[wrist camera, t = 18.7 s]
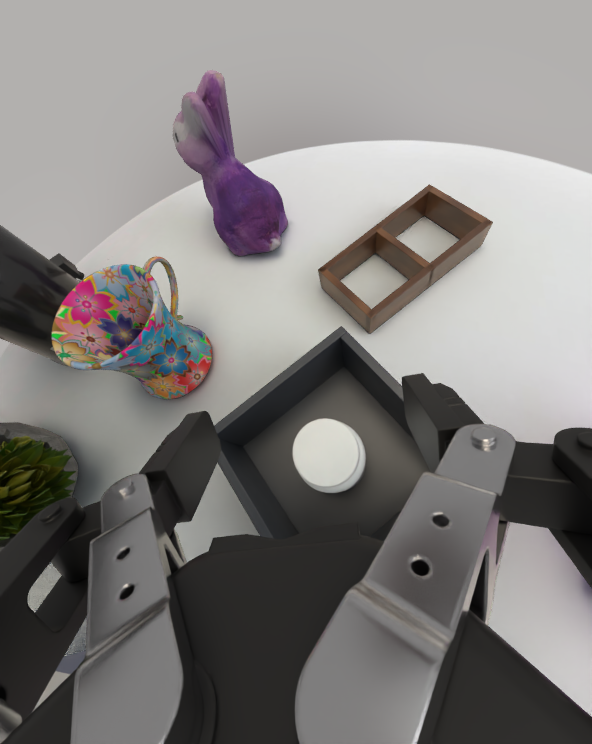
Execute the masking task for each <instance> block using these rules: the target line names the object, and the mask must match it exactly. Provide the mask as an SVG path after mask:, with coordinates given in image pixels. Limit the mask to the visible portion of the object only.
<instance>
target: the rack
mask: <svg viewBox="0 0 592 744" xmlns="http://www.w3.org/2000/svg"><path fill="white" fill-rule="evenodd" d="M422 216H426V217H427V218H429V219H430V220H432V221H433V222H435V223H436V224H438V225H439V226H441V227H442V228H444V229H446V230H447V231H449V232H450V233H452V234H453V235H455V236H456V237H458V238H459V239H460V240H459V241H458V242H457V243H455V244H454V245H453V246H452V247H450V248H449V249H448V250H446V251H445V252H444V253H443V254H441V255H440V256H439V257H438V258H436V259H435V260H434V261H432V262H431V263H429V262H427V261H426V260H425V259H423V258H422V257H421V256H419V255H418V254H416V253H415V252H414V251H412V250H411V249H410V248H408V247H407V246H405V245H404V244H403V243H401V242H400V241H399V240H397V239H396V238H395V237H397V236H398V235H399V234H400V233H402V232H403V231H404V230H406V229H407V228H408V227H410V226H411V225H412V224H413V223H415V222H416V221H417V220H419V219H420V218H421V217H422ZM492 223H493V222H492V221H490V220H489V219H487V218H485V217H484V216H482V215H480V214H479V213H477V212H475V211H473V210H472V209H470V208H468V207H467V206H465V205H463V204H462V203H460V202H458V201H457V200H455V199H453V198H452V197H450V196H448V195H446V194H445V193H443V192H441V191H440V190H438V189H436V188H435V187H433V186H431V185H428V186H427V187H425V188H424V189H423V190H422V191H420V192H419V193H418V194H416V195H415V196H414V197H413V198H411V199H410V200H409V201H407V202H406V203H405V204H403V205H402V206H401V207H399V208H398V209H397V210H396V211H394V212H393V213H392V214H390V215H389V216H388V217H386V218H385V219H384V220H382V221H381V222H380V223H379V224H377V225H376V226H375V227H373V228H372V229H371V230H369V231H368V232H367V233H365V234H364V235H363V236H362V237H360V238H359V239H358V240H356V241H355V242H354V243H352V244H351V245H350V246H348V247H347V248H346V249H345V250H343V251H342V252H341V253H339V254H338V255H337V256H335V257H334V258H333V259H332V260H330V261H329V262H328V263H326V264H325V265H324V266H322V267H321V268H320V269H318V272H319V277H320V282H321V287H322V289H323V290H324V291H325V292H327V293H328V294H329V295H330V296H331V297H332V298H333V299H334V300H335V301H336V302H337V303H338V304H339V305H340V306H341V307H342V308H343V309H344V310H345V311H346V312H347V313H349V314H350V315H351V316H352V317H353V318H354V319H355V320H356V321H357V322H358V323H359V324H360V325H361V326H362V327H363V328H364V329H365V330H366V331H367V332H368V333H369V334H371V333H372V332H373V331H374V330H375V329H377V328H378V327H379V326H381V325H382V324H383V323H384V322H386V321H387V320H388V319H389V318H391V317H392V316H393V315H394V314H396V313H397V312H398V311H399V310H401V309H402V308H403V307H404V306H406V305H407V304H408V303H410V302H411V301H412V300H413V299H415V298H416V297H417V296H418V295H420V294H421V293H422V292H423V291H425V290H426V289H427V288H428V287H430V286H431V285H432V284H434V283H435V282H436V281H437V280H439V279H440V278H441V277H442V276H444V275H445V274H446V273H447V272H449V271H450V270H451V269H452V268H454V267H455V266H456V265H457V264H459V263H460V262H461V261H463V260H464V259H465V258H466V257H468V256H469V255H470V254H471V253H473V252H474V251H475V250H476V249H478V248H479V247H480V246H481V245H482V243H483V241H484V239H485V237H486V235H487V233H488V231H489V229H490V227H491V225H492ZM375 253H376V254H378V255H379V256H380V257H381V258H383V259H384V260H385V261H386V262H388V263H389V264H390V265H391V266H393V267H394V268H395V269H397V270H398V271H399V272H400V273H402V274H403V275H404V276H405V277H407V278H408V279H409V280H408V281H407V282H406V283H404V284H403V285H402V286H401V287H399V288H398V289H397V290H396V291H394V292H393V293H392V294H390V295H389V296H388V297H387V298H385V299H384V300H383V301H382V302H380V303H379V304H378V305H376V306H375V307H374V308H373V309H370V308H369V307H368V306H367V305H366V304H365V303H364V302H363V301H361V300H360V299H359V298H358V297H357V296H356V295H355V294H354V293H353V292H352V291H350V290H349V289H348V288H347V287H346V286H345V285H344V284H343V283H342V282H340V280H341V279H342V278H344V277H345V276H346V275H347V274H349V273H350V272H351V271H353V270H354V269H355V268H356V267H358V266H359V265H360V264H362V263H363V262H364V261H366V260H367V259H368V258H369V257H371V256H372V255H373V254H375Z"/></svg>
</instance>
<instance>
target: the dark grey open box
mask: <svg viewBox="0 0 592 744" xmlns="http://www.w3.org/2000/svg"><path fill="white" fill-rule="evenodd" d="M324 418H326V419H333V420H336V421H339V422H342V423H344V424H346V425H348V426H349V427H351V428H352V429H353V430H354V431H355V432H356V433H357V434H358V435H359V437H360V438H361V440H362V442H363V445H364V447H365V452H366V465H365V471H364V474H363V476H362V478H361V480H360V481H359V482H358V483H357V484H356V485H355V486H354V487H353V488H351V489H349V490H346V491H343V492H339V493H325V492H320V491H317V490H315V489H313V488H312V487H310V486H309V485H308V484H307V483H306V482H305V481H304V480H303V479H302V477H301V476H300V474H299V472H298V471H297V469H296V467H295V464H294V461H293V444H294V441H295V438H296V436H297V434H298V433H299V431H300V430H301V429H302V428H303V427H304V426H305V425H307V424H308V423H310V422H312V421H314V420H317V419H324ZM214 427H215V430H216V432H217V435H218V437H219V440H220V443H221V454H220V457H219V459H218V464H219V466H220V467H221V469H222V471H223V473H224V474H225V476H226V478H227V480H228V481H229V483H230V485H231V486H232V488H233V490H234V492H235V493H236V495H237V497H238V498H239V500H240V502H241V504H242V505H243V507H244V509H245V510H246V512H247V514H248V516H249V517H250V519H251V521H252V523H253V524H254V526H255V528H256V529H257V531H258V533H259V535H260V536H261V537H267V538H274V539H285V538H288V537H291V536H294V535H297V534H300V533H303V532H305V531H308V530H311V529H314V528H317V527H320V526H328V525H337V524H346V523H356V522H358V526H359V531H360V535H363V536H369V537H373V538H376V539H379V540H382V541H385V539H386V538H387V536H388V534H389V532H390V530H391V529H392V527H393V525H394V523H395V522H396V520H397V518H398V516H399V514H400V513H401V511H402V509H403V507H404V506H405V504H406V502H407V500H408V498H409V497H410V495H411V493H412V491H413V490H414V488H415V486H416V484H417V482H418V481H419V479H420V477H421V476H422V474H423V473H424V472H425V471H430V469H429V467H428V465H427V463H426V461H425V459H424V457H423V455H422V453H421V451H420V449H419V447H418V445H417V443H416V441H415V439H414V437H413V435H412V433H411V431H410V429H409V426H408V424H407V420H406V416H405V408H404V398H403V388H402V386H401V385H400V384H399V383H398V382H397V381H396V380H395V379H394V378H393V377H392V376H391V375H390V374H389V373H388V372H387V371H386V370H385V369H384V368H383V367H382V366H381V365H380V364H379V363H378V362H377V361H376V360H375V359H374V358H373V357H372V356H371V355H370V354H369V353H368V352H367V351H366V350H365V349H364V348H363V347H362V346H361V345H360V344H359V343H358V342H357V341H356V340H355V339H354V338H353V337H352V336H351V335H350V334H349V333H348V332H347V331H346V330H345V329H344V328H343V327H342V326H341V327H339V328H338V329H337V330H336V331H334V332H333V333H332V334H331V335H329V336H328V337H327V338H325V339H324V340H323V341H322V342H320V343H319V344H318V345H317V346H315V347H314V348H313V349H311V350H310V351H309V352H308V353H306V354H305V355H304V356H303V357H301V358H300V359H299V360H297V361H296V362H295V363H294V364H292V365H291V366H290V367H289V368H287V369H286V370H285V371H283V372H282V373H281V374H280V375H278V376H277V377H276V378H274V379H273V380H272V381H271V382H269V383H268V384H267V385H266V386H264V387H263V388H262V389H260V390H259V391H258V392H257V393H255V394H254V395H253V396H252V397H250V398H249V399H248V400H246V401H245V402H244V403H243V404H241V405H240V406H239V407H238V408H236V409H235V410H234V411H232V412H231V413H230V414H229V415H227V416H226V417H225V418H223V419H222V420H221V421H220V422H218V423H217V424H216V425H215V426H214ZM430 472H431V471H430Z"/></svg>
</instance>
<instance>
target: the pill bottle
mask: <svg viewBox="0 0 592 744" xmlns="http://www.w3.org/2000/svg"><path fill="white" fill-rule="evenodd" d="M293 461H294V464H295V467H296V469H297V471H298V472H299V474H300V476H301V477H302V479H303V480H304V481H305V482H306V483H307V484H308V485H309V486H310V487H312V488H313V489H315V490H317V491H320V492H325V493H339V492H343V491H346V490H349V489H351V488H353V487H354V486H355V485H356V484H357V483H358V482H359V481H360V480H361V478H362V476H363V474H364V471H365V465H366V452H365V447H364V445H363V442H362V440H361V438H360V437H359V435H358V434H357V433H356V432H355V431H354V430H353V429H352V428H351V427H349V426H348V425H346V424H344V423H342V422H339V421H336V420H333V419H326V418H324V419H317V420H314V421H312V422H310V423H308V424H307V425H305V426H304V427H303V428H302V429H301V430H300V431H299V433H298V434H297V436H296V438H295V441H294V444H293Z"/></svg>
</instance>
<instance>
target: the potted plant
mask: <svg viewBox="0 0 592 744" xmlns="http://www.w3.org/2000/svg"><path fill="white" fill-rule="evenodd" d="M77 476H78V465H77V463H76V461H75V459H74V457H73V455H72V453H71V451H70V449H69V447H68V445H67V444H66V443H65V441H64V440H63V439H62V437H61V436H59V435H57V434H55V433H52V432H50V431H48V430H46V429H43V428H39V427H35V426H31V425H27V424H22V423H18V422H17V423H0V551H1V550H2V549H3V548H4V547H5V546H6V545H7V544H8V543H9V542H10V541H11V540H12V539H13V538H14V537H15V536H16V535H17V534H18V533H19V532H20V531H21V529H22V528H23V527H24V526H25V525H26V524H27V523H28V522H29V521H30V520H31V519H32V518H33V517H34V516H35V515H36V514H38V513H39V512H40V511H41V510H43V509H44V508H46V507H47V506H49V505H51V504H52V503H54V502H56V501H59V500H61V499H64V498H69V497H72V495H73V491H74V487H75V483H76V479H77Z"/></svg>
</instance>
